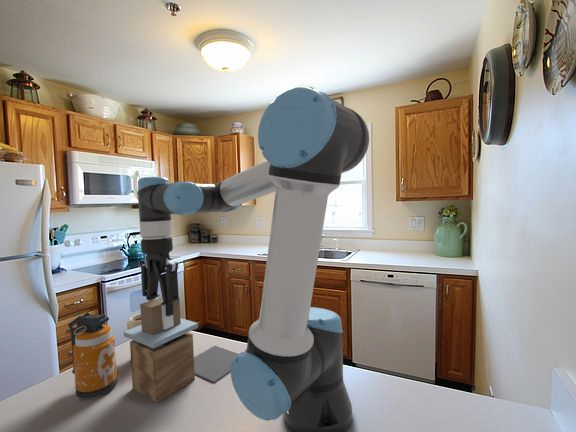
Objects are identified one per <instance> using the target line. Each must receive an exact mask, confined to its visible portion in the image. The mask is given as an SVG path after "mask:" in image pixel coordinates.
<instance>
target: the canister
mask: <svg viewBox="0 0 576 432" xmlns="http://www.w3.org/2000/svg"><path fill="white" fill-rule="evenodd" d="M109 320H110V317H109V316H106V314H103V313H102V314H92V313H90V312H86V313H84V314H83V315H82V316H81V315H79V316H78V317H77V316H76V318H75V319H73V320H72V321H71V322H69V323H68V324H67V326H68V329H69V332H70V338H71V339H70V341H71V352H72V353H71V354H72V366H73V367H72V368H73V369H72V371H71V373H72V374H73V375H74V383H75V385H74V386H75V396H76V397H77V398H78V399H82V400H83V399H84V400H86V399H87V400H89V399H92V398H97V397H99V396H102V395H105V394H106V393H108V392H110V391H111V390H112V389H114V388H115V387H116V385H117V384H118V376H117V375H118V374H117V356H116V341H115V336H114V335H113V331H112V330H113V329H112V328H111V326H110V325H108V324H105V323H106V322H108V321H109ZM75 325H76V327H74V326H75Z"/></svg>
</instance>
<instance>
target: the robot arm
mask: <svg viewBox="0 0 576 432" xmlns="http://www.w3.org/2000/svg"><path fill="white" fill-rule="evenodd" d="M369 132H370V131H369V128H368V125H367V124H366V121H365V120H364V118H363V117H362V115H360V114H359V113H358V112H356V111H355V110H354V109H352V108H350V107H348V106H345V105H344V104H342V103H340V102H338V101H337V100H334V99H333V98H332V97H330V96H329V95H328V94H327V93H325V92H322V91H317V90H315V89H313V88H310V87H306V86H295V87H292V88H289V89H286V90H284V91H282V92H280V93H279V94H277V95H276V97H275V99H274V100H273V101H271V102H269V104H268V105H267V106H266V108H265V110H264V111H263V113H262V116H261V118H260V122H259V124H258V129H257V143H258V147H259V149H260V150H261V154H262V157H264V159H265V160H263V161H262V162H259V163H258V164H256V165H253V166H251V167H249V168H247V169H245V170H242V171H241V172H238V173H237V174H234V175H232V176H230V177H227V178H225V179H224V180H221V181H219V182H217V183H194V182H191V181H181V180H179V181H176V182H170V180H169V179H168V178H167V177H162V176H148V177H140V178H139V179H138V181H137V191H136V193H137V200H138V215H139V235H140V237H141V240H140V250H141V251H140V252H141V253H142V254H143V255H145V259H140V260H139V266H140V274H141V275H140V276H141V293H142V297H145V298H146V300H147V302H149V301H152V300H155V299H158V298H160V294H158V291H159V289H160V292H161V297H162V298H163V303H161V308H162V326H163V330H165V329H168V328H170V327H172V326H174V322H173V313H174V312H173V302H174V301H177V300H179V301H180V296H179V280H178V269H179V263H178V261H175V262H173V261H172V259H171V256H170V253H171V252H172V251H173V250H174V246H173V238H172V236H171V235H172V234H173V231H172V215H179V216H183V215H190V214H203V213H204V214H205V213H221V212H222V213H227V212H228V213H229V212H234V211H235V210H238V209H239V207H240V206H241V205H243V204H246V203H248V202H251V201H254V200H256V199H259V198H262V197H265V196H268V195H271V194H272V193H273V194H274V193H275V194H274V201H273V209H272V210H273V211H272V217H271V226H270V234H269V243H268V249H267V255H266V264H265V265H266V266H265V270H264V271H265V272H264V280H263V288H262V296H261V303H260V310H259V311H260V312H259V318H258V319H257V320H255V321H254V322H253V323H252V324H251V326H250V327H249V329H248V336H247V337H248V338H247V346H246V348H245V349H244V350H245V351H242V352H241V351H240V353H238V355H237V357H236V358H235V359H234V360H233V362H232V365H231V372H230V378H231V379H230V380H231V383H232V386H233V390H234V392H235V393H236V395H237V397H238V399H239V400H240V402H241V403H242V405H243V406H244V407H245V408H246V410H248V411H249V412H250V413H251V414H252V415H254V417H256V418H258V419H259V420H263V421H269V422H270V421H275V420H277V419H279V418H280V417H281V416H282V415H283V420H284V422H285V424H286V426H287V427H288V429H289V430H291V432H347V431H348V429H349V428H350V426H351V424H352V421H353V406H352V402H351V398H350V395H349V393H348V390H347V387H346V385H345V381H344V358H343V357H344V353H343V351H344V350H343V348H344V346H343V333H344V329H343V325H342V319H341V318H342V317H341V316H340V315H339V314H338V313H336V312H334V311H332V310H330V309H326V308H321V307H313V306H311V305H312V304H311V303H312V300H313V299H312V298H313V293H314V286H315V279H316V274H317V269H318V268H317V267H318V261H319V255H320V248H321V244H322V243H321V242H322V236H323V229H324V223H325V218H326V212H327V207H328V206H327V205H328V200H329V195H330V194H331V193H332V192H334V191H335V190H337V189H338V188H339V187H340V184H341V178H342V174H344V173H346V172H349V171H351V170H353V169H354V168H355V167H357V166H358V165H359V164H360V163H361V162H362V161H363V159H364V158H365V157H366V153H367V152H368V149H369V145H370V133H369Z"/></svg>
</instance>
